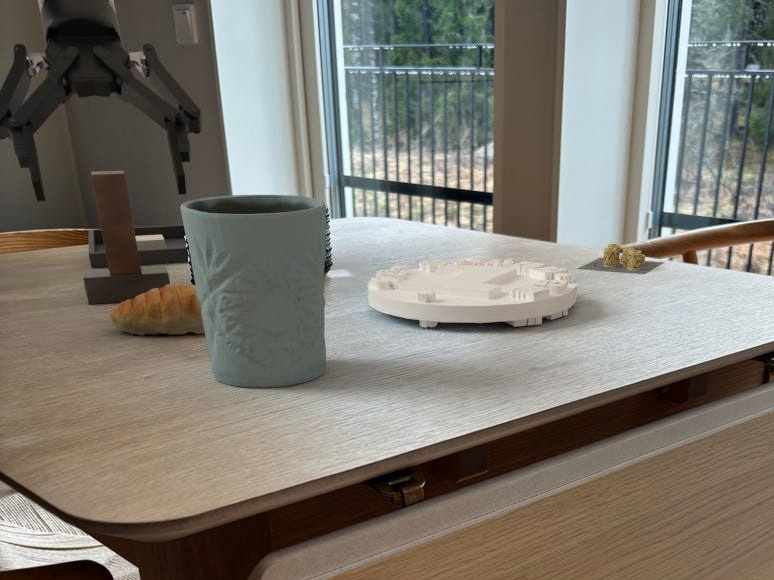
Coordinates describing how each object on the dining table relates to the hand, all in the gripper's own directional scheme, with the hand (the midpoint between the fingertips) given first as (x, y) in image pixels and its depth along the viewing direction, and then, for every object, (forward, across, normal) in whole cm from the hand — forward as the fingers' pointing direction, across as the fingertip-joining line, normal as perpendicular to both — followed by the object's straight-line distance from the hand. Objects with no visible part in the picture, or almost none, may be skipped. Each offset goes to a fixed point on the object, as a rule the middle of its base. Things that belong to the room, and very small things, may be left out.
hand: (111, 188), depth 97 cm
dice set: (+11, +54, +3) cm, 55 cm away
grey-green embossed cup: (+33, +9, -19) cm, 39 cm away
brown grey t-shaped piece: (+10, 0, +4) cm, 10 cm away
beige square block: (-8, +3, +20) cm, 22 cm away
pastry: (+21, +3, -7) cm, 22 cm away
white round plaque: (+22, +31, -8) cm, 39 cm away
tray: (-7, +3, +21) cm, 22 cm away
